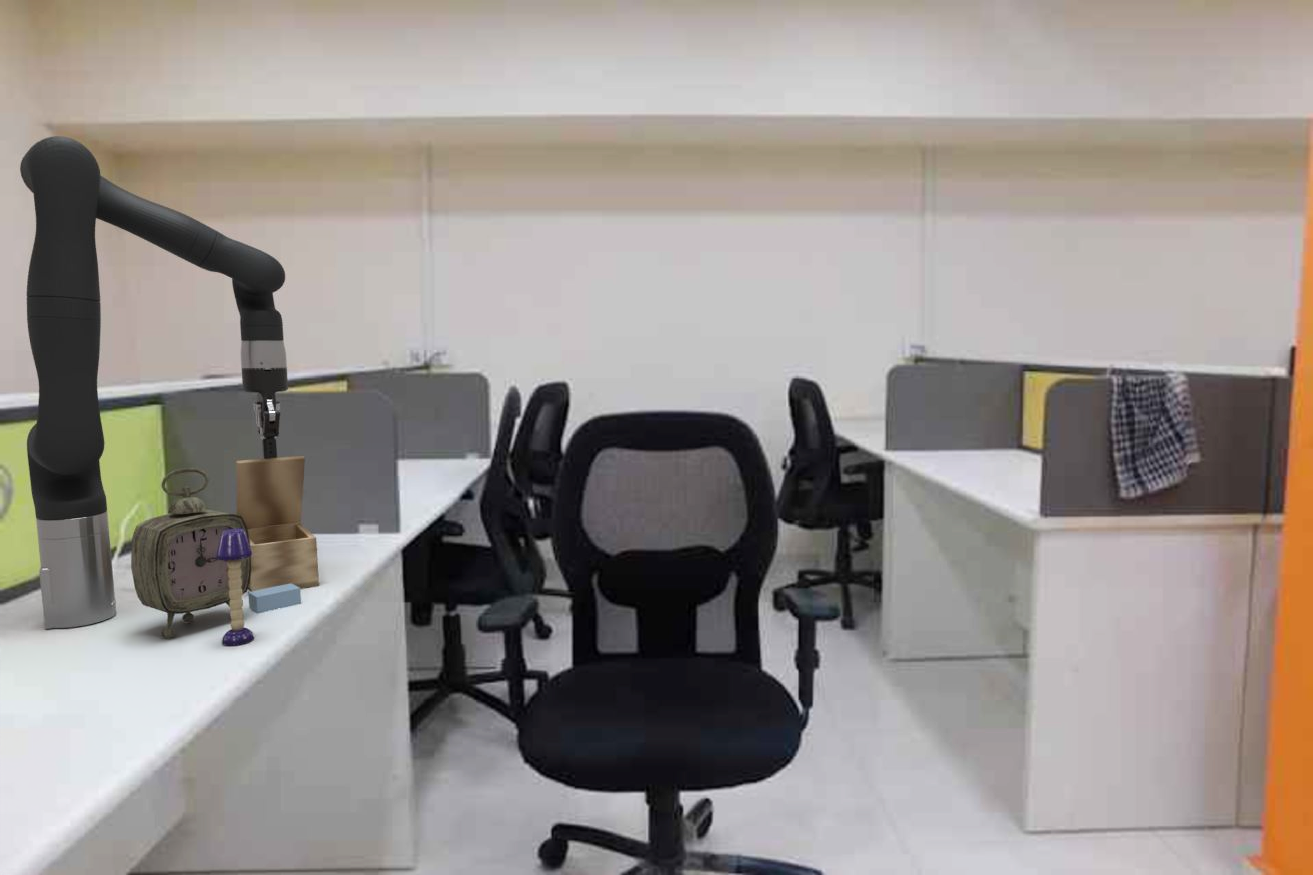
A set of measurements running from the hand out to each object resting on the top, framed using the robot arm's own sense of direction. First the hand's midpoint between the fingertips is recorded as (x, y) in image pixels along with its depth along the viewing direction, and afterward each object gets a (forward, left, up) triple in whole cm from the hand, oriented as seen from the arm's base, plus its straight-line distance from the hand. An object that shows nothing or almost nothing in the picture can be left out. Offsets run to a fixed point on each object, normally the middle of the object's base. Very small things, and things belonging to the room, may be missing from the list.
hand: (270, 458), depth 148 cm
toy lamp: (-10, -32, -23) cm, 41 cm away
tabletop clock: (-15, -20, -23) cm, 34 cm away
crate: (0, -1, -23) cm, 23 cm away
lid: (0, +3, -7) cm, 7 cm away
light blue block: (-3, -17, -23) cm, 29 cm away
